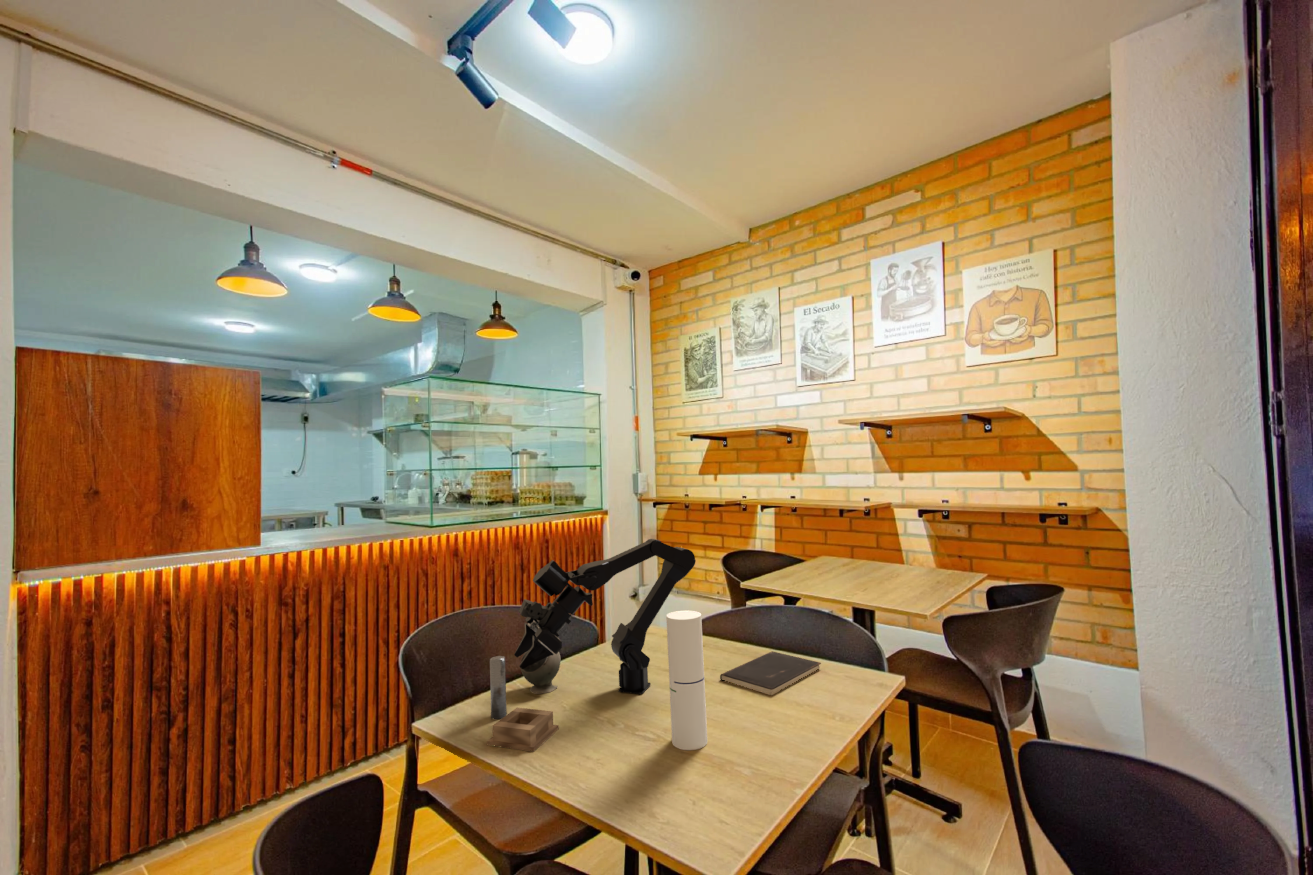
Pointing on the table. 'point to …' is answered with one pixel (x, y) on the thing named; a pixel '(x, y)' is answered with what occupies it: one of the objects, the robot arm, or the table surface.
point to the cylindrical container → (686, 680)
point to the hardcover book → (770, 672)
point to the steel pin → (498, 687)
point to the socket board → (523, 729)
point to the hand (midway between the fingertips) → (518, 661)
